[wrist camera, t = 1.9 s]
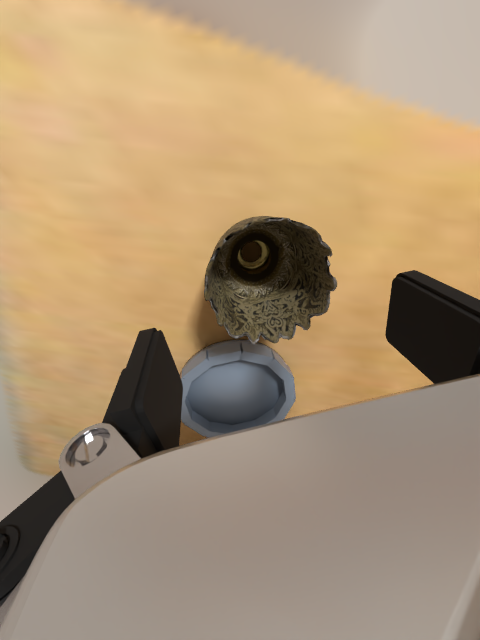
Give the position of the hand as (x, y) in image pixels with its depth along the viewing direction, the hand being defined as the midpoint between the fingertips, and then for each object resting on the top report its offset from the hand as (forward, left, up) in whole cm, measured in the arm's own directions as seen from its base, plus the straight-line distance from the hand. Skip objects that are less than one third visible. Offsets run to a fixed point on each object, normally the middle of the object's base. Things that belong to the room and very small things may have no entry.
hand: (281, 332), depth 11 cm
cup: (-1, 0, -13) cm, 13 cm away
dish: (+3, +14, -12) cm, 19 cm away
